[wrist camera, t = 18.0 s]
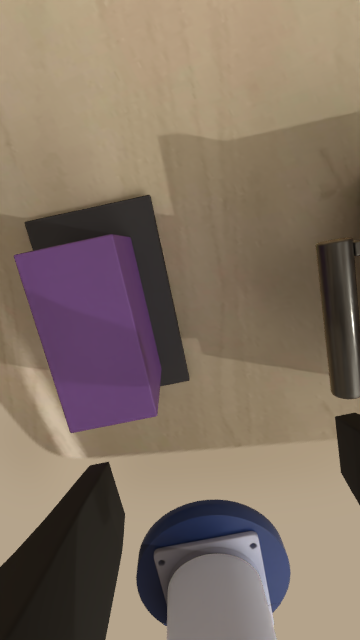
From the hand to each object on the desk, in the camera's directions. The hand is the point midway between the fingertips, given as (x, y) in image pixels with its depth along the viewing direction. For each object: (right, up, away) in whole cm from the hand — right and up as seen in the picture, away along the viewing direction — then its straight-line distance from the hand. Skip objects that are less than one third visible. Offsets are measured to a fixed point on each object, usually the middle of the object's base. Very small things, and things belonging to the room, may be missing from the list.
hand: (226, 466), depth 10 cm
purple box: (-5, +5, +9) cm, 11 cm away
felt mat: (-5, +6, +9) cm, 12 cm away
